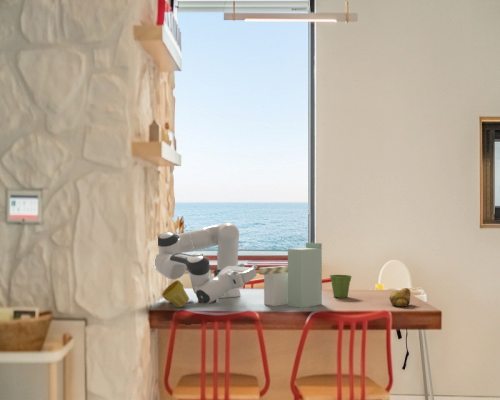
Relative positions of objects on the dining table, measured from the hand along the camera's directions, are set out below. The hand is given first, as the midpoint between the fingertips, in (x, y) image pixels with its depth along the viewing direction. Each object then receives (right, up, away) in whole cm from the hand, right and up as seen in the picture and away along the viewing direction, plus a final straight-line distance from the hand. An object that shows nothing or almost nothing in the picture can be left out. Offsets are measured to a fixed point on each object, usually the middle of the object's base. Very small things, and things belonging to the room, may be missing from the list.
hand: (249, 265), depth 240 cm
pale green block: (+27, -20, +8) cm, 34 cm away
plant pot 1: (-31, -18, +2) cm, 36 cm away
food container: (-22, -21, +14) cm, 33 cm away
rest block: (+14, -20, +11) cm, 27 cm away
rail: (+13, -5, +11) cm, 18 cm away
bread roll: (+72, -20, +6) cm, 75 cm away
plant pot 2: (+48, -21, +31) cm, 61 cm away
